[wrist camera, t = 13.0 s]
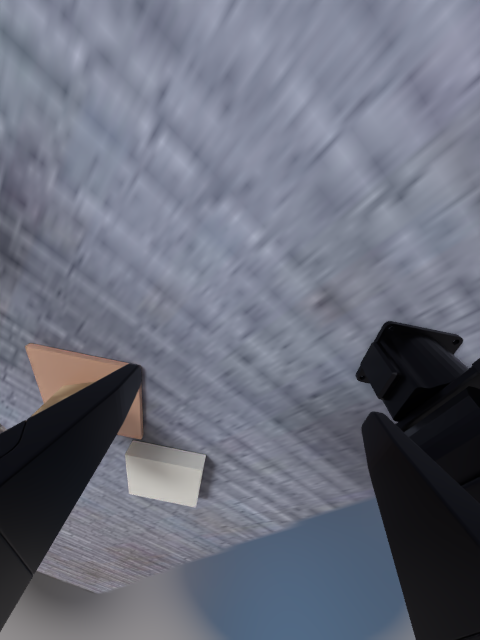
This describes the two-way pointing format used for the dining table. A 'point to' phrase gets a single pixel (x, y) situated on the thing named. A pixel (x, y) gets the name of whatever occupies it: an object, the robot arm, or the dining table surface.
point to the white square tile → (164, 473)
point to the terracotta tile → (79, 378)
